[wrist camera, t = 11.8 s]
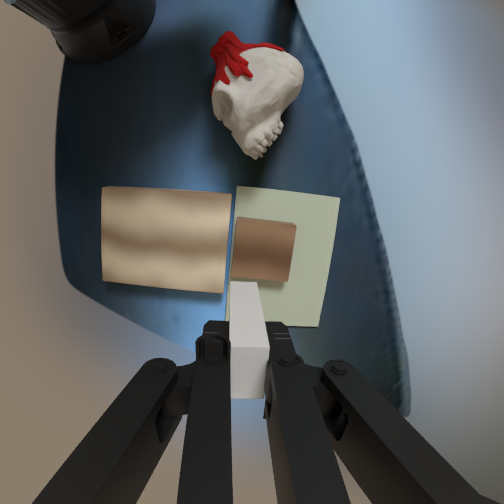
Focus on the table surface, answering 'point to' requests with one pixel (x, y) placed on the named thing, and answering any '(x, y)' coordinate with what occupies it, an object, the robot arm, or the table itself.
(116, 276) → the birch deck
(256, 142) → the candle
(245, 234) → the walnut tile
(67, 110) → the table surface
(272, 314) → the sage mat
